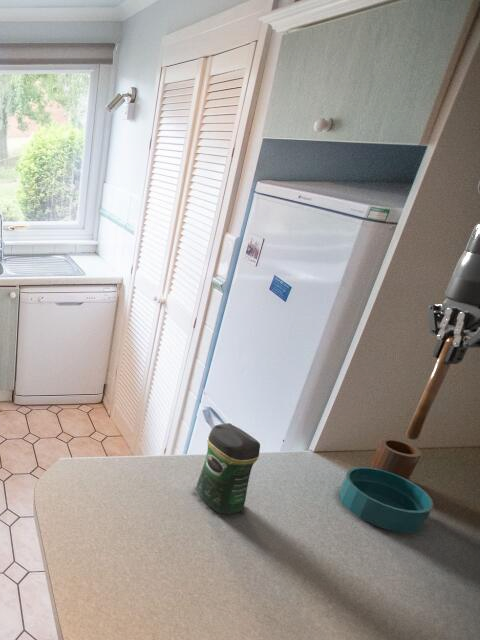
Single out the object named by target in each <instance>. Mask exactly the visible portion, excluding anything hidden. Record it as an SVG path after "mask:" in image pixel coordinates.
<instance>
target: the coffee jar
mask: <svg viewBox="0 0 480 640" xmlns="http://www.w3.org/2000/svg"><path fill="white" fill-rule="evenodd" d="M260 451H261V443H260V441H258V440H257V439H255V437H253V436H251V435H250V434H249V433H247V432H246V431H244V430H242V429H241V428H240V427H237V426H236V425H234V424H232V423H230V422H228V423H220V424H216V425H214V426H213V427H212V428H211V429H210V432H209V434H208V437H207V451H206V456H205V460H204V463H203V465H202V469H201V471H200V474H199V477H198V479H197V483H196V487H195V492H196V494H197V495H198V496H199V498H200V499H201V500H202V501H203V502H204V503H205V504H206V505H207V506H208V507H209V508H211V509H212V510H213V511H215V512H216V513H218V514H223V515H234V514H237V513H240V512H242V510H244V507H245V504H246V498H247V492H248V488H249V487H248V486H249V482H250V477H251V472H252V469H253V466H254V464H255V463H256V462H257V461H258V459H259V457H260Z"/></svg>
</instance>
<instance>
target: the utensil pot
mask: <svg viewBox="0 0 480 640" xmlns="http://www.w3.org/2000/svg"><path fill="white" fill-rule="evenodd" d="M421 456H422V451H421V450H420V449H419V448H418V447H416V446H415V445H413V444H411V443H409V442H407V441H404V440H401V439H398V438H391V437H385V438H384V437H383V438H381V439H380V441H379V443H378V446H377V448H376V450H375V452H374V455H373V457H372V460H371V462H370V464H369V466H368V467H371V468H376V469H381V470H384V471H388V472H391V473H394V474H396V475H398V476H401V477H403V478H405V479H407V480H409V481H410V479H411V477H412V475H413V474H414V471H415V468H416V467H417V465H418V463H419V460H420V458H421Z"/></svg>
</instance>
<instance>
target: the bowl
mask: <svg viewBox="0 0 480 640" xmlns="http://www.w3.org/2000/svg"><path fill="white" fill-rule="evenodd" d="M338 497H339V499H340V501H341V503H342V504H343V505H344V506H345V507H346V508H347V509H348V510H349V512H351V513H353V514H354V515H356V516H357V517H358V518H360V519H362V520H364V521H366V522H368V523H369V524H371V525H373V526H376V527H379V528H382V529H385V530H388V531H392V532H397V533H408V534H412V533H415V532H420V531H421V530H422V528H423V527H424V525H426V522H427V520H428V519H429V516H430V514H431V512H432V510H433V508H434V500H433V499H432V498H431V496H430V495H429V494H428V492H426V491H425V490H424V489H423V488H422V487H420V486H419V485H417V484H416V483H414V482H412V481H411V480H410V479H409V480H407V479H405V478H403V477H401V476H398V475H396V474H394V473H391V472H388V471H384V470H381V469H376V468H371V467H369V466H355V467H352V468H350V469H348V470H347V471H346V473H345V476H344V478H343V480H342V482H341V486H340V488H339V491H338Z"/></svg>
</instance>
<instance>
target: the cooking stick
mask: <svg viewBox="0 0 480 640" xmlns="http://www.w3.org/2000/svg"><path fill="white" fill-rule="evenodd" d="M454 338H455V337H450V338H448V339H447V340H446V341H445V344H444V346H443V348H442V351H441V353H440V355H439V358H437V361H436V362H435V365H434V368H433V369H432V372H431V374H430V377H429V378H428V381H427V384H426V385H425V389H423V393H422V395H421V398H420V400H419V402H418V405H417V407H416V409H415V412H414V413H413V415H412V416H413V417H412V418H411V421H410V423H409V426H408V428H407V430H406V432H405V436H406V438H408V439H409V440H412V441H413V440H414V441H415V440H417V439H418V438H420V435H421V433H422V430H423V428H424V426H425V424H426V421H427V419H428V417H429V415H430V412H431V410H432V408H433V406H434V403H435V401H436V399H437V397H438V394H439V392H440V390H441V388H442V385H443V383H444V381H445V378H446V376H447V374H448V371H449V370H450V368H451V365H452V364H448V363H446V362H445V358H446V356H447V354H448V352H449V349H450V347H451V345H453V341H454Z"/></svg>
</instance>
